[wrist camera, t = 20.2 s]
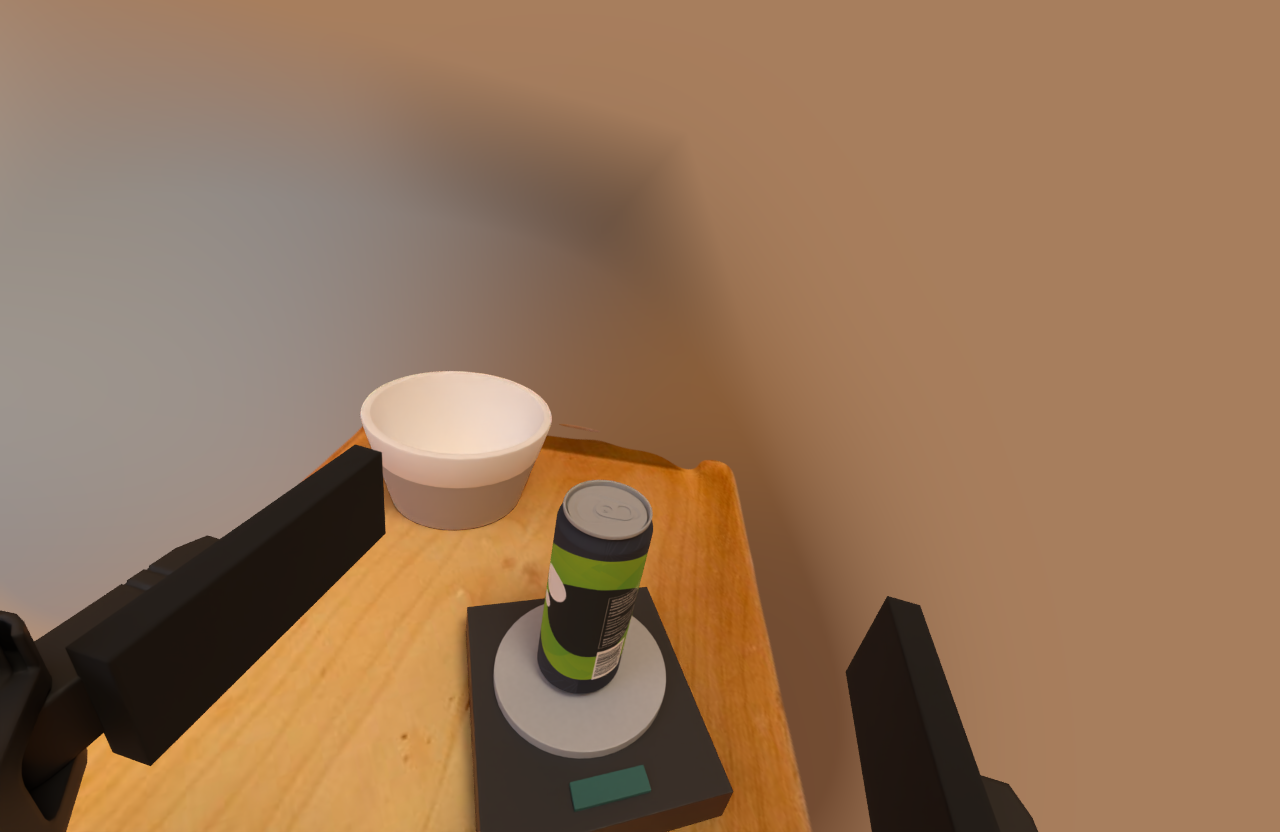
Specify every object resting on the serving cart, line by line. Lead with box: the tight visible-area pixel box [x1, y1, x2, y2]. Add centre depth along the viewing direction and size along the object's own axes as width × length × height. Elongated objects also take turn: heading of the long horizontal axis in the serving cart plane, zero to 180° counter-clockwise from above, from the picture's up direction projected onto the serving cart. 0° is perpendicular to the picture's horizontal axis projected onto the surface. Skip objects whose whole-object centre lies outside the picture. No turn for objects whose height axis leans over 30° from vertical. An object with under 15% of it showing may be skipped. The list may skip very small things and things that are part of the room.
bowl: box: [360, 371, 552, 530], centre depth 59 cm, size 19×19×11 cm
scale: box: [466, 587, 733, 832], centre depth 40 cm, size 16×18×4 cm
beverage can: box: [537, 480, 653, 694], centre depth 37 cm, size 6×6×15 cm
